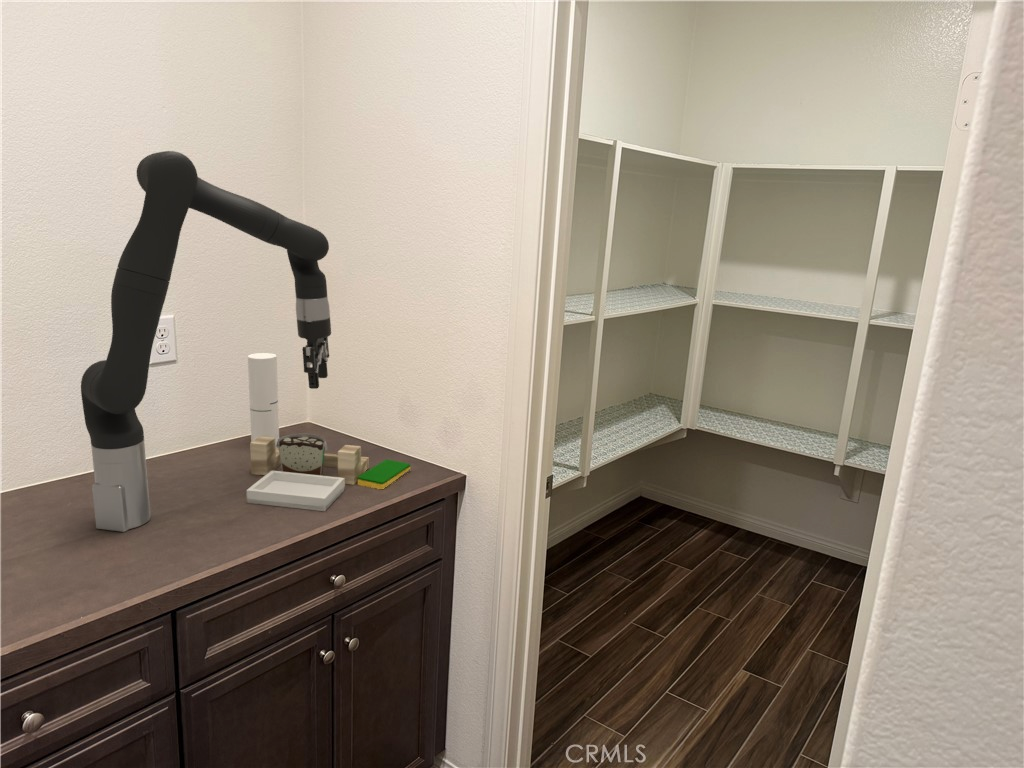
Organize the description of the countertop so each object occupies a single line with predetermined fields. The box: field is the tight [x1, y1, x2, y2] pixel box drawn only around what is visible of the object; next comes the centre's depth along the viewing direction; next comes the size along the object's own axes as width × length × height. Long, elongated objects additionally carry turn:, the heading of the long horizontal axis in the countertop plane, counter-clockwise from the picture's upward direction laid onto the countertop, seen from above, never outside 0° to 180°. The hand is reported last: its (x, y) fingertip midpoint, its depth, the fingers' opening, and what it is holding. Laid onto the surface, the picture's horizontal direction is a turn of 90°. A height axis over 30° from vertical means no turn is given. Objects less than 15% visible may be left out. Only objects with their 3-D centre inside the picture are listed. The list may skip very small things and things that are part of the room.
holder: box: [249, 437, 370, 486], centre depth 172 cm, size 11×26×8 cm, turn 83°
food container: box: [276, 433, 328, 476], centre depth 169 cm, size 12×6×10 cm, turn 84°
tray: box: [246, 470, 346, 512], centre depth 158 cm, size 12×18×3 cm, turn 83°
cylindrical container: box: [247, 352, 280, 448], centre depth 186 cm, size 7×7×25 cm
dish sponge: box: [357, 459, 411, 490], centre depth 172 cm, size 7×14×2 cm, turn 159°
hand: (318, 382), depth 166 cm, fingers open, 8 cm apart
